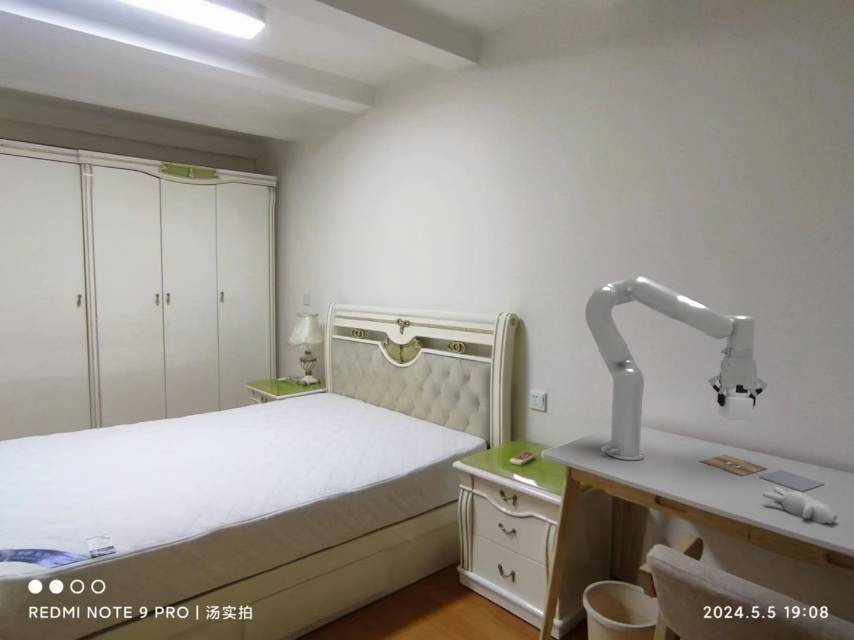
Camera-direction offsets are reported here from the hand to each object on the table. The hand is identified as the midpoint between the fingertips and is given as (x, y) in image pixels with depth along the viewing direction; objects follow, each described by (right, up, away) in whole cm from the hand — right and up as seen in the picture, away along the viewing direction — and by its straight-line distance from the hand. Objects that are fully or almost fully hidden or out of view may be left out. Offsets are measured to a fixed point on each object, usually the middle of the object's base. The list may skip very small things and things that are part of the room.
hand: (735, 406), depth 165 cm
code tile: (0, -20, +2) cm, 20 cm away
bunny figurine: (-3, -23, -32) cm, 40 cm away
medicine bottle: (0, -4, 0) cm, 4 cm away
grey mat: (+10, -21, -11) cm, 26 cm away
